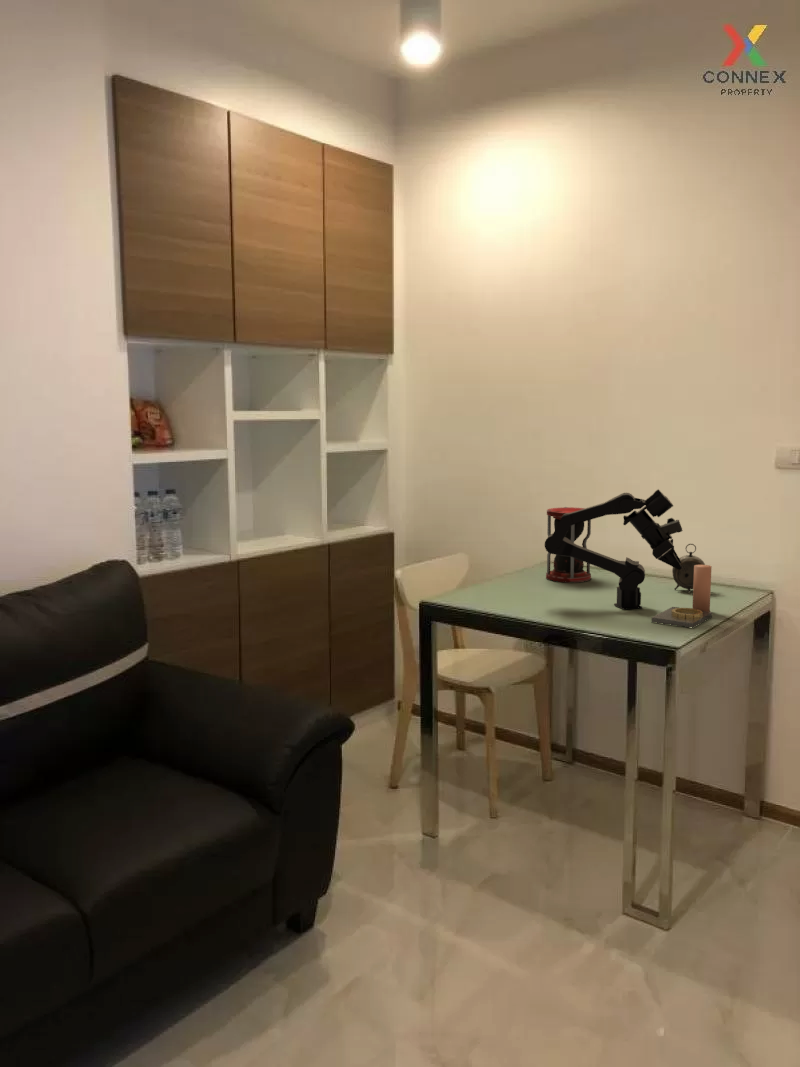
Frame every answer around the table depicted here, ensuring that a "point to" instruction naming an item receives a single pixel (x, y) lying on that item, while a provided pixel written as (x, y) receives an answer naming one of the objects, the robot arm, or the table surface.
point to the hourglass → (565, 565)
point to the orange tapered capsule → (702, 587)
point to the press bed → (682, 616)
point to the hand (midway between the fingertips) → (680, 566)
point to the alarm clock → (686, 570)
